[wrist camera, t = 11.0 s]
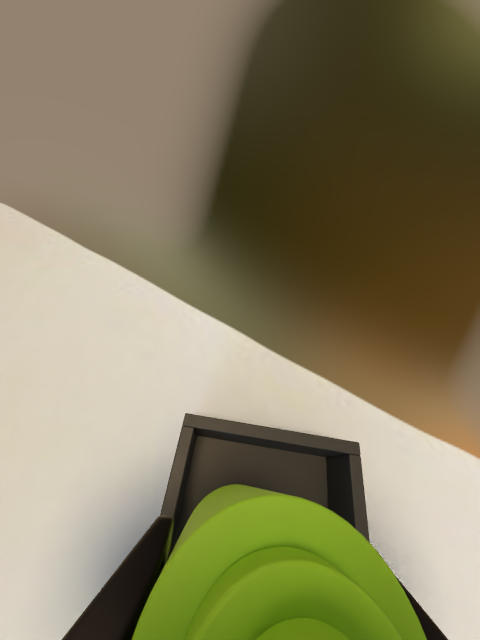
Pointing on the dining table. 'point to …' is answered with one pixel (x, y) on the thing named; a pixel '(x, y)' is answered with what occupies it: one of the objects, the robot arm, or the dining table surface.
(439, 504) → the dining table surface
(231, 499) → the green bottle
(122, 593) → the robot arm
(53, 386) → the dining table surface
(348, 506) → the tote
